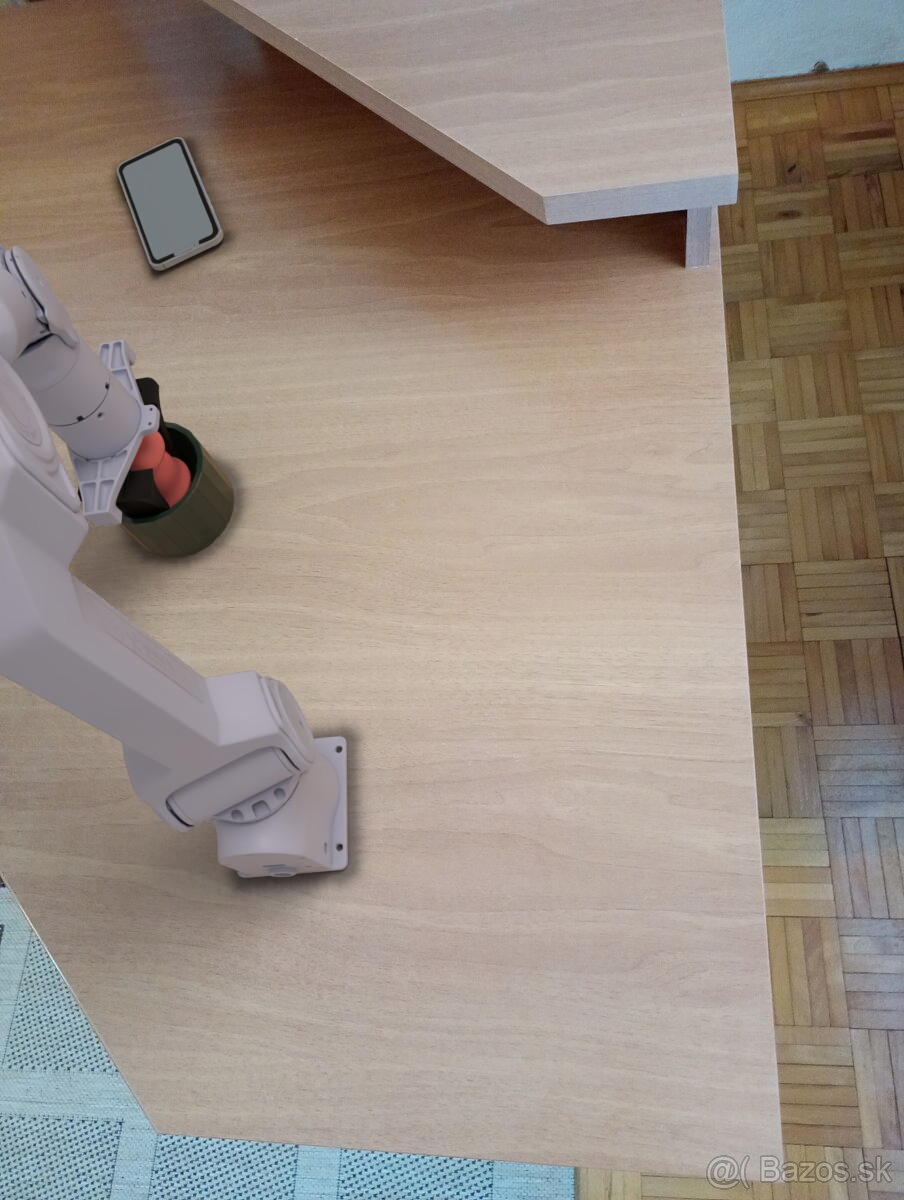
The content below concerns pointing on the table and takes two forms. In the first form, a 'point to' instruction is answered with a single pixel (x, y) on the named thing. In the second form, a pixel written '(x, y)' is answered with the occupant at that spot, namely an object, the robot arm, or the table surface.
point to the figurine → (163, 468)
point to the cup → (187, 505)
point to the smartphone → (169, 204)
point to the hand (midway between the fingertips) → (160, 485)
